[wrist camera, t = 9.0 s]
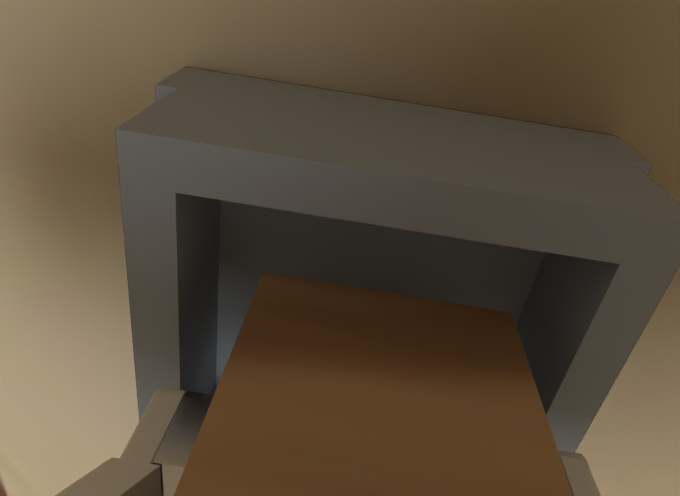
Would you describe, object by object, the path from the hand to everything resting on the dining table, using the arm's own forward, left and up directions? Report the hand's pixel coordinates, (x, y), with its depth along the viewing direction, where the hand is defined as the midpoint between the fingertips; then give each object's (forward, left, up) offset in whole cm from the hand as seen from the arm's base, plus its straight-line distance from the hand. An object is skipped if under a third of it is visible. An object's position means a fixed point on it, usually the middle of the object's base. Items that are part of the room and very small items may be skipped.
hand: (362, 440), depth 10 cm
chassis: (+4, 0, -6) cm, 7 cm away
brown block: (0, 0, -2) cm, 2 cm away
